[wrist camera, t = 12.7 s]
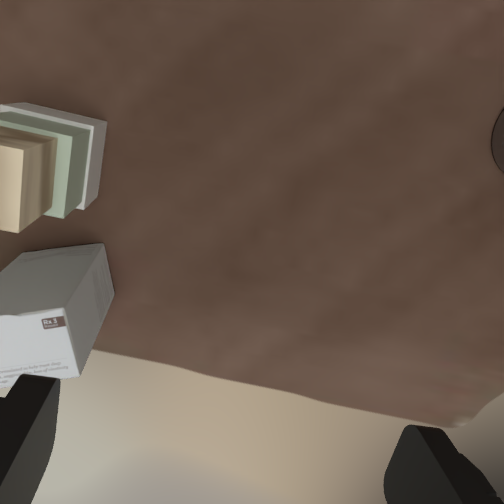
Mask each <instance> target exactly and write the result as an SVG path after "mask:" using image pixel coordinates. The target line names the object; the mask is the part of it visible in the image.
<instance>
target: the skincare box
mask: <svg viewBox="0 0 504 504" xmlns="http://www.w3.org/2000/svg"><path fill="white" fill-rule="evenodd" d="M114 295H115V293H114V288H113V284H112V279H111V275H110V270H109V265H108V260H107V255H106V251H105V246H104V243H97V244H88V245H80V246H71V247H62V248H54V249H47V250H41V251H34V252H23V253H21V254H20V255H19V256H18V257H17V258H16V259H15V260H14V261H12V262H11V263H10V264H9V265H8V266H7V267H6V268H4V269H3V270H2V271H1V272H0V388H6V387H12V386H13V385H14V383H15V382H16V380H17V379H18V377H19V376H20V375H21V374H31V375H39V376H46V377H54V378H59V379H67V378H74V377H80V375H81V372H82V370H83V368H84V366H85V364H86V361H87V358H88V356H89V354H90V352H91V350H92V347H93V345H94V342H95V340H96V337H97V335H98V333H99V330H100V328H101V326H102V323H103V321H104V319H105V317H106V314H107V312H108V309H109V307H110V305H111V302H112V300H113V297H114Z"/></svg>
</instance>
